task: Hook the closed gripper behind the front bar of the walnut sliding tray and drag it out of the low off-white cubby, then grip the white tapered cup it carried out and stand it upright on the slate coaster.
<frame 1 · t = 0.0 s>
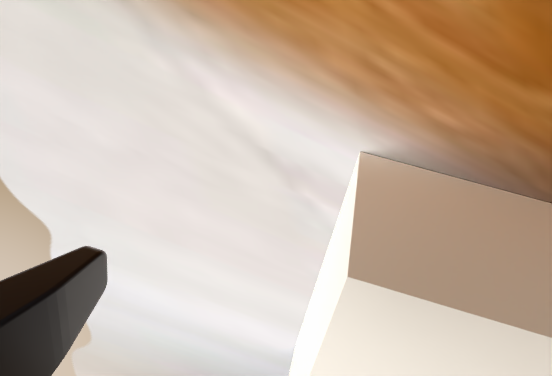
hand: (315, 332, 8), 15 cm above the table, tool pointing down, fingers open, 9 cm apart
cubby: (417, 292, 25), on the table
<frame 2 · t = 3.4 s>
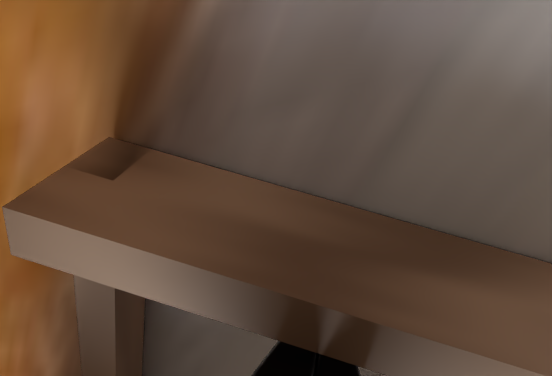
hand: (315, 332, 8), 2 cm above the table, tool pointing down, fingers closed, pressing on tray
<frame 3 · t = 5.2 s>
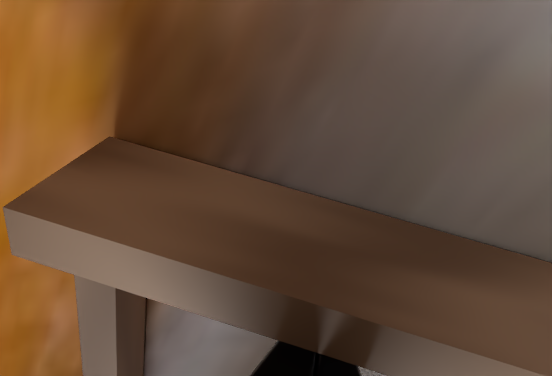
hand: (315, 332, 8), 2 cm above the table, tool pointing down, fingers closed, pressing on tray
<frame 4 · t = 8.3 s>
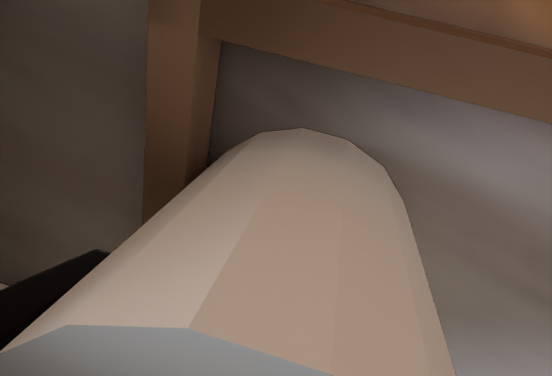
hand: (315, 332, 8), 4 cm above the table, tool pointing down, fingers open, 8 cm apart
white tapered cup: (300, 221, 11), resting in tray
tray: (467, 309, 9), point 2 cm above the table, slide at 13.3 cm
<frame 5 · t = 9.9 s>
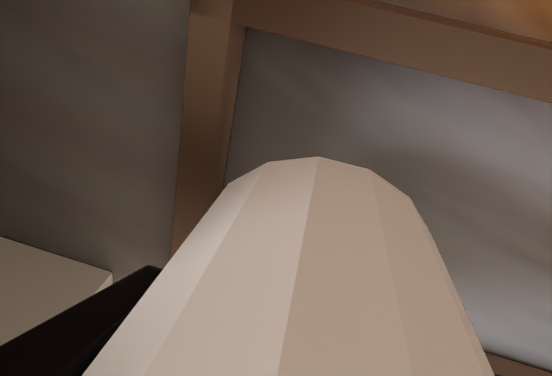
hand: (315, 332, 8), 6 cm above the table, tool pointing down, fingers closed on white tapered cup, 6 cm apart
white tapered cup: (313, 255, 10), point 3 cm above the table, touching gripper
tray: (452, 256, 11), point 2 cm above the table, slide at 13.3 cm
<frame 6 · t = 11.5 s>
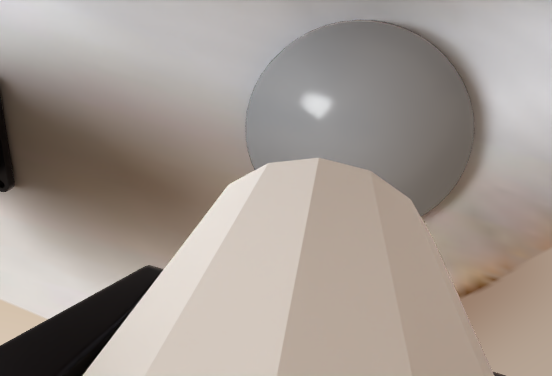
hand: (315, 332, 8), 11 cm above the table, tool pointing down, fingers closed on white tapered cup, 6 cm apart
white tapered cup: (313, 256, 10), point 8 cm above the table, touching gripper
coaster: (353, 135, 17), on the table
when the fingers open (4 cm above the table, at t = 13.1 s): white tapered cup drops 1 cm, resting on coaster.
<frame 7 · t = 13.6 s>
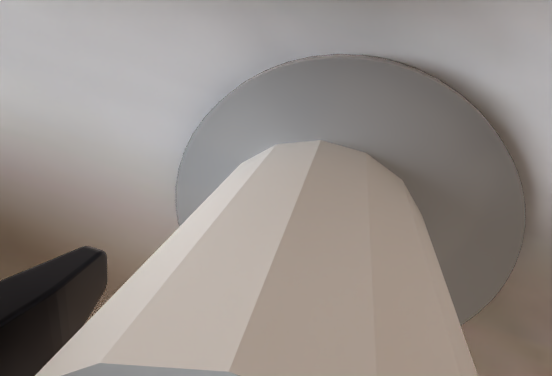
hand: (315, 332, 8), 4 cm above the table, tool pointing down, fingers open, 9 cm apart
white tapered cup: (315, 232, 11), resting on coaster
coaster: (336, 221, 11), on the table
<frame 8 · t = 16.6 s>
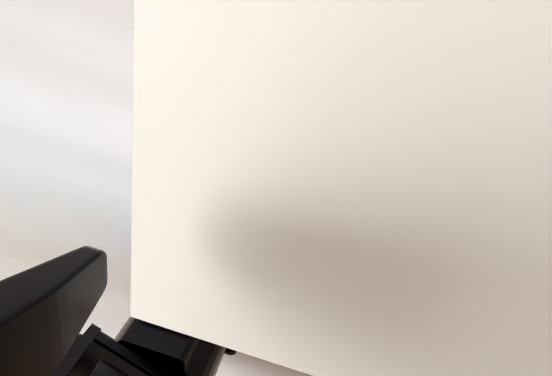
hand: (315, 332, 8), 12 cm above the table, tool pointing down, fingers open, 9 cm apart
cubby: (406, 35, 16), on the table
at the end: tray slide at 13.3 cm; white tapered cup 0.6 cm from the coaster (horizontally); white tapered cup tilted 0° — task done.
